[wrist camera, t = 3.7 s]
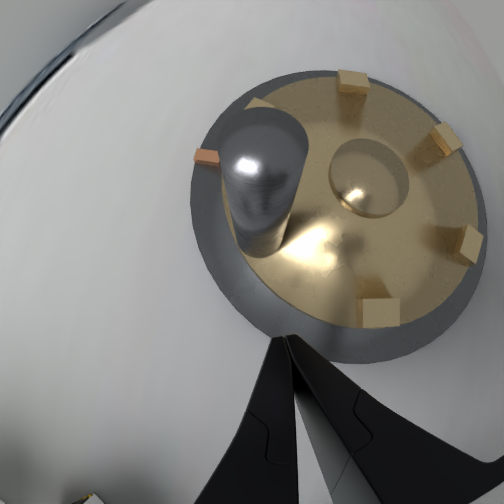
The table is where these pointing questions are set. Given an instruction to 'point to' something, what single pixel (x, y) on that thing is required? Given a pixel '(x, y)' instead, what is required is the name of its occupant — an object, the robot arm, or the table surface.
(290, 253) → the gold wheel with handle
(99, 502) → the medicine bottle
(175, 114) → the table surface
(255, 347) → the table surface
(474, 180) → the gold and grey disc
